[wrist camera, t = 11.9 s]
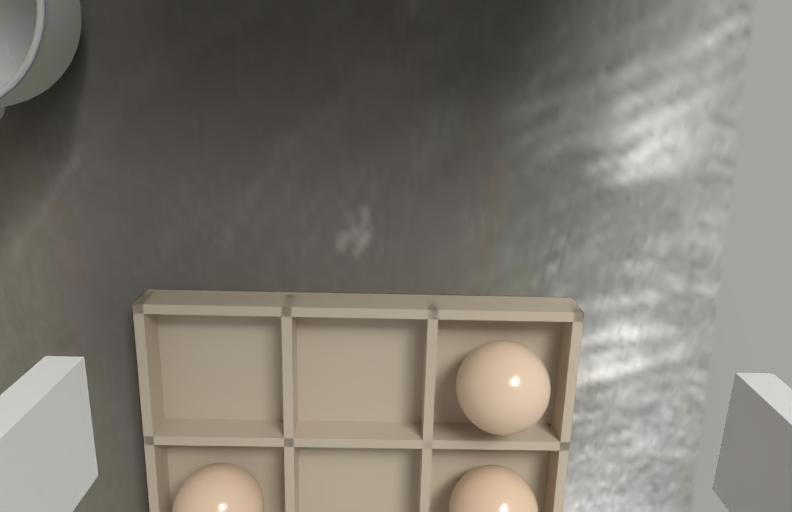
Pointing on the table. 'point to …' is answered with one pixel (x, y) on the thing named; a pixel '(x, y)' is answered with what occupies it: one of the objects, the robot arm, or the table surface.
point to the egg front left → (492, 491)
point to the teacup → (35, 46)
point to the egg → (219, 490)
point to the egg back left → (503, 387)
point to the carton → (343, 394)
